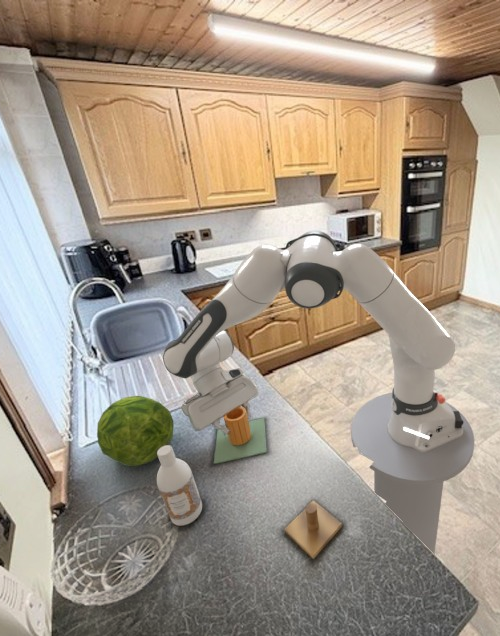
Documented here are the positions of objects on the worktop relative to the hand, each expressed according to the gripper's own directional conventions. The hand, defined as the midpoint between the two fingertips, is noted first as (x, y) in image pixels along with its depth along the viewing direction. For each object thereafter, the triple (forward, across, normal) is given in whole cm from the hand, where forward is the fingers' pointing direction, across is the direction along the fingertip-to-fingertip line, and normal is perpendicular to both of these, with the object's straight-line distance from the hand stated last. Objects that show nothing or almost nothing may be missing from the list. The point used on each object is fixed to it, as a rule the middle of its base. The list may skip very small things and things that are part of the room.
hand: (238, 425), depth 98 cm
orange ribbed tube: (+3, 0, +4) cm, 5 cm away
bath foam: (+10, -21, -2) cm, 24 cm away
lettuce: (-10, -20, +19) cm, 29 cm away
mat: (+4, 0, +4) cm, 6 cm away
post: (+29, -5, -20) cm, 36 cm away
